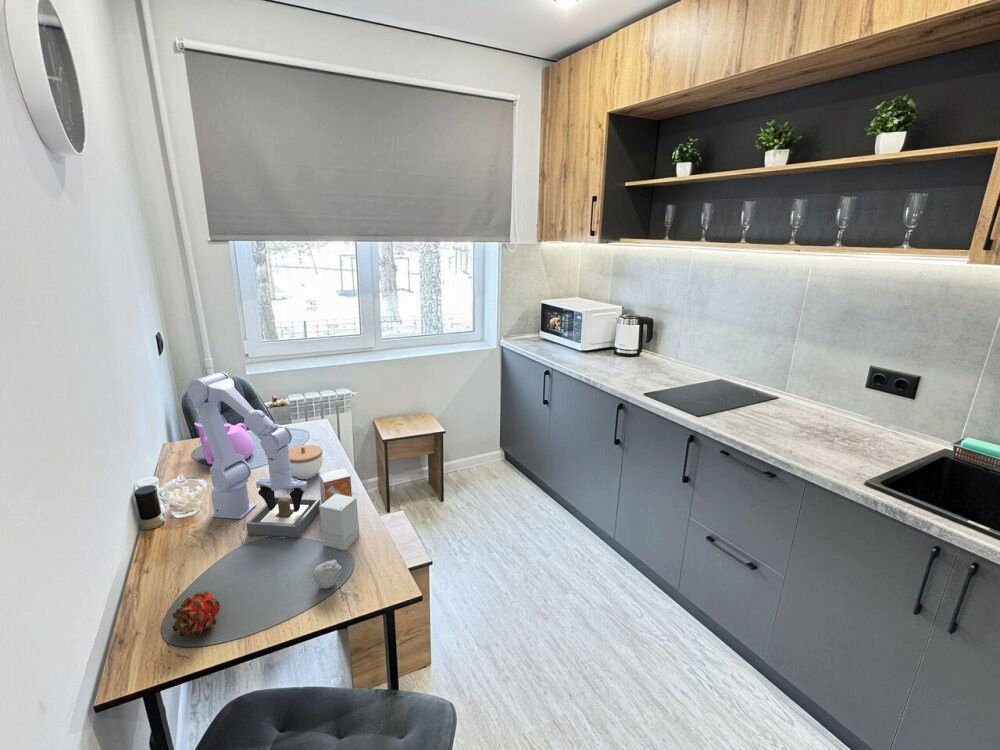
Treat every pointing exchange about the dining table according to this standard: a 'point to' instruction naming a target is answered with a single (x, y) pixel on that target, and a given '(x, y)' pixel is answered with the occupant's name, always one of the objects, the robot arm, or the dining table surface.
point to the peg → (284, 507)
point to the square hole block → (284, 520)
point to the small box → (335, 484)
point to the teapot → (237, 438)
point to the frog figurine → (327, 574)
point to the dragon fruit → (196, 614)
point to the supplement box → (339, 521)
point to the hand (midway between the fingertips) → (284, 509)
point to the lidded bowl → (305, 461)
